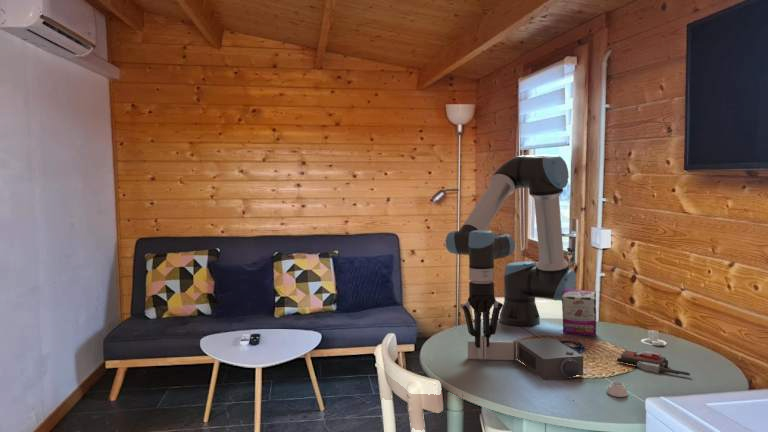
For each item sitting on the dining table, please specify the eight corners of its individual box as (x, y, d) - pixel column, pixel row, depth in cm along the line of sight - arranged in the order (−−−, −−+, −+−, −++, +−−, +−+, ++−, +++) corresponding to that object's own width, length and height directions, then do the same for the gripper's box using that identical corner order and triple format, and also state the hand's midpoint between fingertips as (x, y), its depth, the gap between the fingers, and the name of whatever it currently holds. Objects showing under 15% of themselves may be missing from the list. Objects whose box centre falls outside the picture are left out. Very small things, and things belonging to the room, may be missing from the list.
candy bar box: (596, 327, 203) (596, 290, 195) (596, 336, 199) (596, 299, 191) (563, 324, 207) (562, 288, 200) (562, 333, 203) (561, 296, 196)
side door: (515, 359, 176) (515, 340, 175) (516, 360, 174) (516, 342, 174) (467, 357, 177) (467, 339, 177) (467, 359, 176) (467, 340, 176)
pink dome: (628, 399, 145) (625, 391, 150) (629, 387, 144) (626, 380, 149) (607, 397, 146) (605, 390, 151) (608, 386, 146) (605, 379, 151)
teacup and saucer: (665, 348, 186) (665, 336, 186) (638, 345, 190) (638, 333, 190) (667, 342, 193) (668, 330, 193) (642, 338, 197) (642, 327, 197)
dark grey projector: (516, 359, 176) (516, 338, 175) (552, 356, 178) (552, 336, 177) (546, 382, 156) (546, 359, 156) (586, 379, 158) (586, 355, 158)
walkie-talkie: (614, 366, 170) (689, 380, 158) (614, 351, 170) (689, 365, 157) (622, 358, 177) (694, 371, 165) (622, 344, 176) (695, 356, 164)
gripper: (464, 284, 167) (465, 363, 169) (507, 282, 170) (507, 359, 171) (456, 280, 175) (457, 355, 176) (497, 278, 177) (497, 352, 179)
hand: (482, 357), depth 174 cm, fingers closed
